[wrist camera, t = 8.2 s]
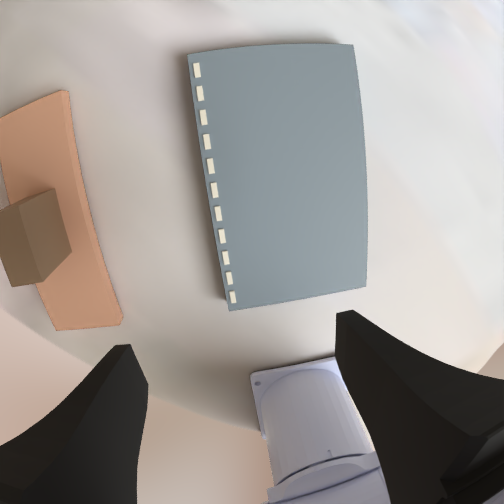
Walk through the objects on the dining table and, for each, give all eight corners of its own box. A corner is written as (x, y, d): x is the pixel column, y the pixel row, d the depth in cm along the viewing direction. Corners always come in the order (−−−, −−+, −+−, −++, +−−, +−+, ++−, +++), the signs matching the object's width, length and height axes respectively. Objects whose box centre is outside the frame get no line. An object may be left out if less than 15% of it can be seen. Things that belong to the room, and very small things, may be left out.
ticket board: (358, 278, 21) (366, 287, 20) (228, 301, 20) (229, 312, 19) (345, 49, 15) (353, 44, 14) (189, 59, 14) (187, 54, 13)
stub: (123, 316, 20) (103, 365, 15) (61, 323, 20) (34, 366, 15) (68, 91, 14) (23, 84, 9) (3, 120, 14) (-46, 125, 9)
